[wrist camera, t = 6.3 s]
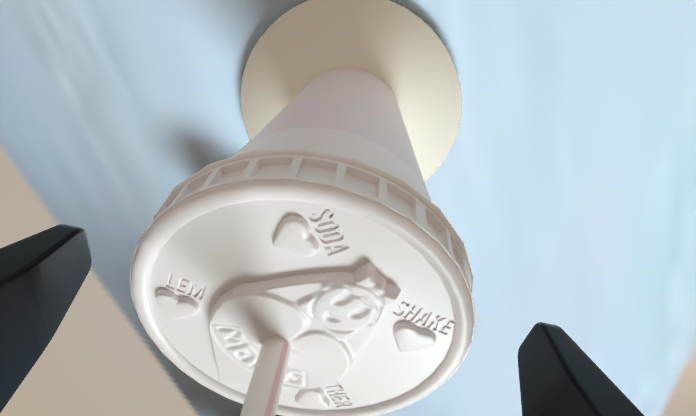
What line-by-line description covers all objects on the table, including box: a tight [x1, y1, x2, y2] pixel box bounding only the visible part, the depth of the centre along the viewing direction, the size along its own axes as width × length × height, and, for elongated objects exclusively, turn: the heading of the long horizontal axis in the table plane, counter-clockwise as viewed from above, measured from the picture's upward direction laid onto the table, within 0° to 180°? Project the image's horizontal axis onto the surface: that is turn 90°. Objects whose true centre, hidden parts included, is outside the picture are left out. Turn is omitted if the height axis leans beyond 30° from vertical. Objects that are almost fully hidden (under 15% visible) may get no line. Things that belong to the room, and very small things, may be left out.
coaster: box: [241, 0, 462, 182], centre depth 16 cm, size 8×8×1 cm
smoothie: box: [130, 67, 475, 416], centre depth 10 cm, size 6×6×14 cm
